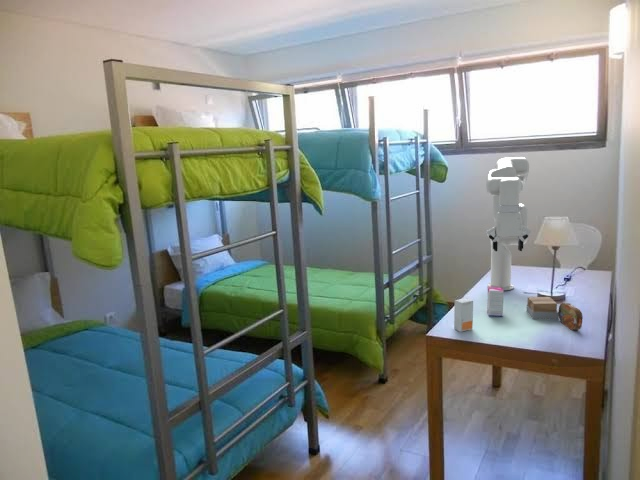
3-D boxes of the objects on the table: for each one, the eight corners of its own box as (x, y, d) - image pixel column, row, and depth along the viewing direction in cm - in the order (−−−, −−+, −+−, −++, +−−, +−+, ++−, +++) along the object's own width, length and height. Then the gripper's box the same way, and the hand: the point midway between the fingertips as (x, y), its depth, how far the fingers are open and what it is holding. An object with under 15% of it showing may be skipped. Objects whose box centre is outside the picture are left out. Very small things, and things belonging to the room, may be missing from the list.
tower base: (526, 312, 209) (526, 304, 208) (551, 312, 207) (551, 304, 206) (532, 320, 199) (532, 312, 198) (558, 320, 197) (558, 312, 197)
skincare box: (461, 332, 188) (461, 302, 186) (453, 328, 192) (454, 300, 190) (473, 329, 191) (473, 300, 189) (466, 326, 195) (466, 297, 192)
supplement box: (503, 317, 203) (503, 290, 201) (488, 316, 204) (489, 290, 202) (501, 312, 208) (501, 287, 206) (486, 312, 210) (487, 286, 208)
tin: (557, 319, 197) (558, 299, 196) (565, 319, 197) (566, 299, 196) (574, 333, 182) (576, 312, 181) (583, 333, 182) (584, 311, 181)
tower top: (527, 304, 208) (527, 297, 207) (549, 304, 206) (549, 296, 206) (533, 311, 199) (533, 303, 198) (556, 311, 198) (556, 303, 197)
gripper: (528, 207, 198) (527, 248, 201) (484, 209, 201) (484, 249, 204) (533, 209, 191) (532, 252, 194) (488, 211, 194) (487, 252, 196)
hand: (507, 250), depth 199 cm, fingers open, 9 cm apart
